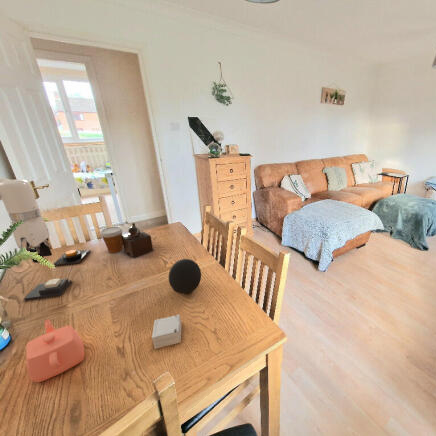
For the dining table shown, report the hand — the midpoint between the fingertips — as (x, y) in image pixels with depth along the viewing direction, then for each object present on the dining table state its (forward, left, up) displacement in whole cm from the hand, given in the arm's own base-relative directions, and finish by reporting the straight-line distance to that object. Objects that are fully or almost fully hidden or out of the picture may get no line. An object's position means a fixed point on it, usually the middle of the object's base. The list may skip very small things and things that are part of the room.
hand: (43, 258), depth 92 cm
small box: (+47, -36, -15) cm, 61 cm away
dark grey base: (-2, 0, -15) cm, 15 cm away
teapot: (+18, -37, -15) cm, 44 cm away
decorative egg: (+51, -13, -15) cm, 55 cm away
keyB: (-5, +26, -13) cm, 29 cm away
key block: (-5, +26, -15) cm, 31 cm away
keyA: (0, 0, -13) cm, 13 cm away
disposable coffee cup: (+12, +31, -15) cm, 37 cm away
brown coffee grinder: (+25, +25, -15) cm, 39 cm away
